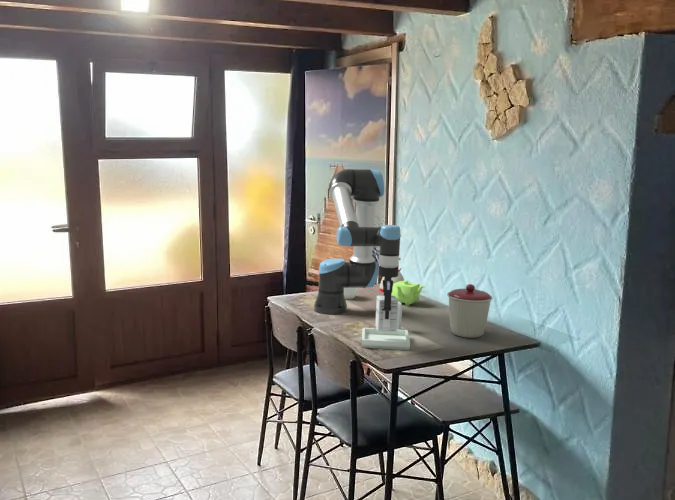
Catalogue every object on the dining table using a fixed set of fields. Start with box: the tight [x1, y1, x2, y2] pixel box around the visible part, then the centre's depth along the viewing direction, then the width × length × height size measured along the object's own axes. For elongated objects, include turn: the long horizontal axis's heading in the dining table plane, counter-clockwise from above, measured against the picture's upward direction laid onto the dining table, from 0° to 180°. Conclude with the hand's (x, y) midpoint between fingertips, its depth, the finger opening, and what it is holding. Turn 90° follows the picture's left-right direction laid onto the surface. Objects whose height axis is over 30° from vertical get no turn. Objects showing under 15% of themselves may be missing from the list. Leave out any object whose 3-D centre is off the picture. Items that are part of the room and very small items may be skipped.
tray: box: [361, 327, 411, 351], centre depth 244 cm, size 18×16×3 cm
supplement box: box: [375, 295, 398, 332], centre depth 243 cm, size 7×7×13 cm
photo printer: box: [397, 302, 403, 330], centre depth 262 cm, size 10×4×12 cm, turn 72°
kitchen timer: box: [379, 265, 405, 294], centre depth 331 cm, size 14×14×15 cm
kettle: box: [391, 279, 426, 307], centre depth 306 cm, size 15×14×11 cm
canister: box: [447, 283, 493, 339], centre depth 257 cm, size 18×18×21 cm
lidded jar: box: [344, 288, 360, 300], centre depth 313 cm, size 11×11×9 cm
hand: (385, 323), depth 243 cm, fingers closed on supplement box, 8 cm apart
